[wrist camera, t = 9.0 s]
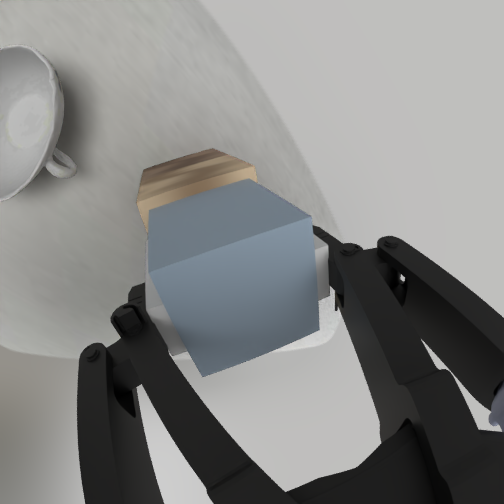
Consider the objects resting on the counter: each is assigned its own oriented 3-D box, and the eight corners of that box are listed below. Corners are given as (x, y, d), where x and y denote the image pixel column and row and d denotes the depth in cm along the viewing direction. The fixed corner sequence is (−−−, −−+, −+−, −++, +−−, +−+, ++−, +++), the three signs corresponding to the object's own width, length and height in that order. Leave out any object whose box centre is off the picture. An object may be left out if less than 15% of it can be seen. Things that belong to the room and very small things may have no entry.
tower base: (164, 233, 28) (168, 259, 23) (143, 169, 24) (140, 181, 19) (227, 212, 29) (245, 233, 24) (212, 148, 26) (228, 154, 21)
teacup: (-31, 145, 15) (-73, 159, 8) (30, 42, 13) (-3, 22, 7) (56, 218, 23) (28, 252, 16) (127, 114, 21) (115, 108, 14)
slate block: (181, 294, 18) (202, 377, 12) (148, 210, 15) (148, 272, 9) (266, 263, 19) (319, 329, 13) (249, 178, 16) (311, 216, 10)
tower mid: (168, 259, 23) (175, 300, 18) (140, 181, 19) (136, 202, 14) (245, 233, 24) (273, 265, 19) (228, 154, 21) (254, 165, 16)
